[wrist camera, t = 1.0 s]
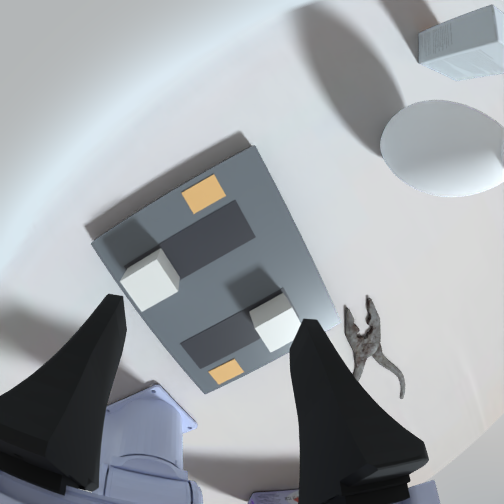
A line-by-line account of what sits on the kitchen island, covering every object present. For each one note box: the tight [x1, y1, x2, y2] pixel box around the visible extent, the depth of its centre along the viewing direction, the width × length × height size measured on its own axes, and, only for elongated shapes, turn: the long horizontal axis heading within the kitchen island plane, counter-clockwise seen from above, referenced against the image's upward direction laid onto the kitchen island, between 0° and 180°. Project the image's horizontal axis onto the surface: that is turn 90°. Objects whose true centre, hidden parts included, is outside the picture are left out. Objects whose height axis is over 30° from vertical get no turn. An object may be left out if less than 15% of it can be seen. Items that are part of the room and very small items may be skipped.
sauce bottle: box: [380, 100, 504, 197], centre depth 20 cm, size 8×8×18 cm
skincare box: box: [418, 5, 504, 81], centre depth 21 cm, size 6×4×12 cm
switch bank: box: [91, 145, 341, 394], centre depth 29 cm, size 16×19×2 cm
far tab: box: [249, 293, 301, 352], centre depth 28 cm, size 4×3×3 cm
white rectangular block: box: [120, 248, 180, 312], centre depth 25 cm, size 4×3×3 cm
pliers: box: [345, 298, 405, 399], centre depth 36 cm, size 10×1×20 cm
